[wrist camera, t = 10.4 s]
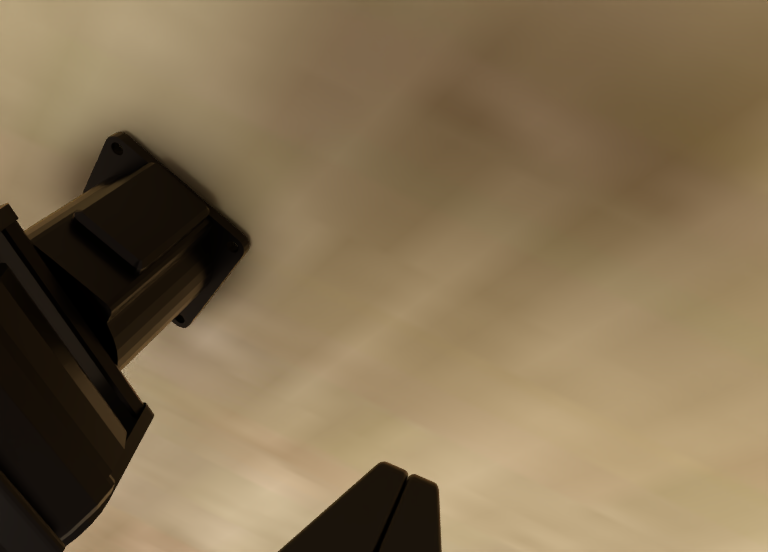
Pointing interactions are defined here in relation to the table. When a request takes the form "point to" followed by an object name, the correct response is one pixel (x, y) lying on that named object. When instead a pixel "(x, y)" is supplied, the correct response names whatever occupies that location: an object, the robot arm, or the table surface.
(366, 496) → the robot arm
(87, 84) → the table surface
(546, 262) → the table surface
